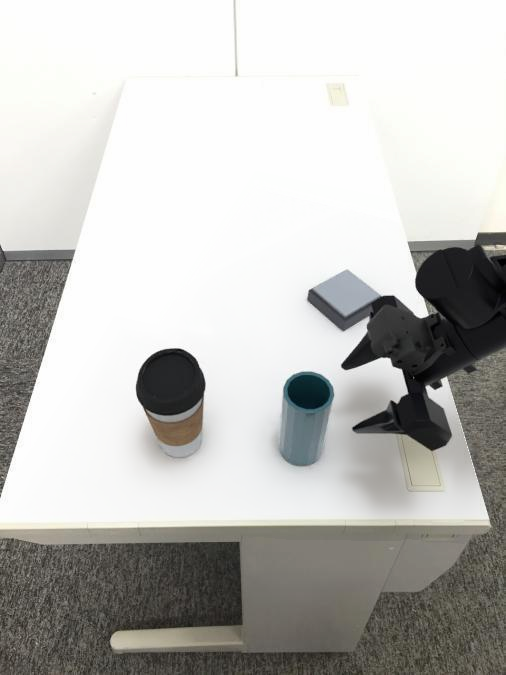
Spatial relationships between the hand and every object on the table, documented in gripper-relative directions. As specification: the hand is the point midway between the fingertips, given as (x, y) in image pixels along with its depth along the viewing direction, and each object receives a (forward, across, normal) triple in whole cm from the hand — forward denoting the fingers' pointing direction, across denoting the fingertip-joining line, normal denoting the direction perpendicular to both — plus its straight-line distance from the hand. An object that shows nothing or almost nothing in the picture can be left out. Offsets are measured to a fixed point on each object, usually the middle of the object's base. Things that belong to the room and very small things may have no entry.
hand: (348, 397), depth 65 cm
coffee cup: (+23, -2, -7) cm, 24 cm away
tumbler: (+12, 0, +5) cm, 12 cm away
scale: (+4, -27, +12) cm, 30 cm away
